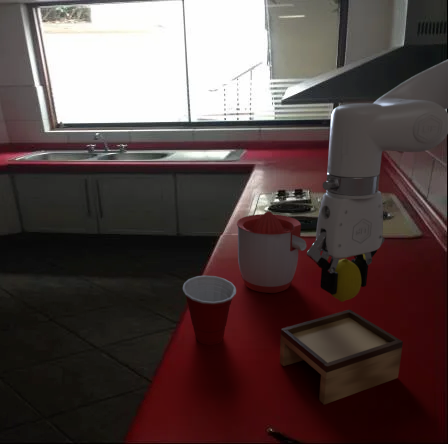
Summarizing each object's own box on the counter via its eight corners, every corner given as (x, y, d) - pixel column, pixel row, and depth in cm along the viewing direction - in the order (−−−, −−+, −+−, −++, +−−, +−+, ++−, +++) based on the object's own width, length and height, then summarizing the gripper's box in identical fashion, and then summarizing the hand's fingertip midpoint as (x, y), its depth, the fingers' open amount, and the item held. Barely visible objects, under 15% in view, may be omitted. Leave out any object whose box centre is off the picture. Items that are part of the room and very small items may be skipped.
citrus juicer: (291, 306, 98) (294, 225, 92) (225, 288, 109) (225, 215, 103) (313, 280, 110) (317, 208, 104) (252, 267, 120) (253, 200, 114)
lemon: (329, 291, 76) (332, 250, 74) (362, 298, 73) (366, 256, 71) (320, 304, 72) (323, 261, 70) (355, 312, 69) (359, 268, 66)
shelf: (346, 341, 84) (349, 309, 82) (398, 377, 73) (403, 341, 71) (279, 362, 79) (280, 328, 77) (324, 404, 68) (326, 366, 66)
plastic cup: (215, 360, 81) (215, 305, 77) (174, 340, 88) (171, 288, 84) (246, 335, 88) (246, 283, 84) (205, 318, 95) (204, 270, 92)
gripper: (324, 197, 60) (316, 308, 66) (413, 182, 65) (399, 286, 71) (291, 186, 67) (287, 288, 72) (374, 174, 72) (365, 269, 78)
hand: (343, 286), depth 72 cm, fingers closed on lemon, 5 cm apart
